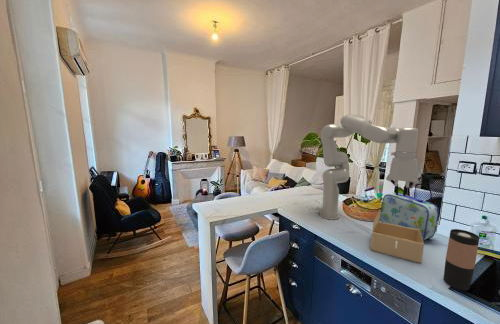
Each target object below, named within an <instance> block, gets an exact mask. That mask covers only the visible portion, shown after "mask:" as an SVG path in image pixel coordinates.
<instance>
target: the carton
mask: <svg viewBox="0 0 500 324" xmlns="http://www.w3.org/2000/svg"><path fill="white" fill-rule="evenodd" d="M373 224H374V221H373V222H372V225H373ZM370 241H371V243H370V248H369V249H370V251H372V252H377V253H380V254H383V255H387V254H388V256H391V255H392V256H391V257H395V256H396V258H399V259H404V260H406V259H407V261H410V260H411V261H410V262H414V263H419V264H422V261H423V254H424V246H425V243H424V241H423V242H422V240H421V237H420V234H419V231H418V230H417V229H412V228H407V227H402V226H397V225H392V224H387V223H382V222H381V221H379V223H378V224H377V226H376V228H375V230H374V231H373V229H372V231H371V240H370Z"/></svg>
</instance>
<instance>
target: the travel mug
mask: <svg viewBox="0 0 500 324" xmlns="http://www.w3.org/2000/svg"><path fill="white" fill-rule="evenodd" d="M479 243H480V236H479V235H478V234H475V233H474V232H471V231H468V230H465V229H458V228H452V229H451V230H450V233H449V238H448V242H447V249H446V255H445V263H444V269H443V282H444V283H445V284H447V285H448V286H450V287H452V288H453V289H457V290H460V291H469V290H470V288H471V283H472V280H473V275H474V271H475V266H476V261H477V260H476V259H477V255H478V249H479Z"/></svg>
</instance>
